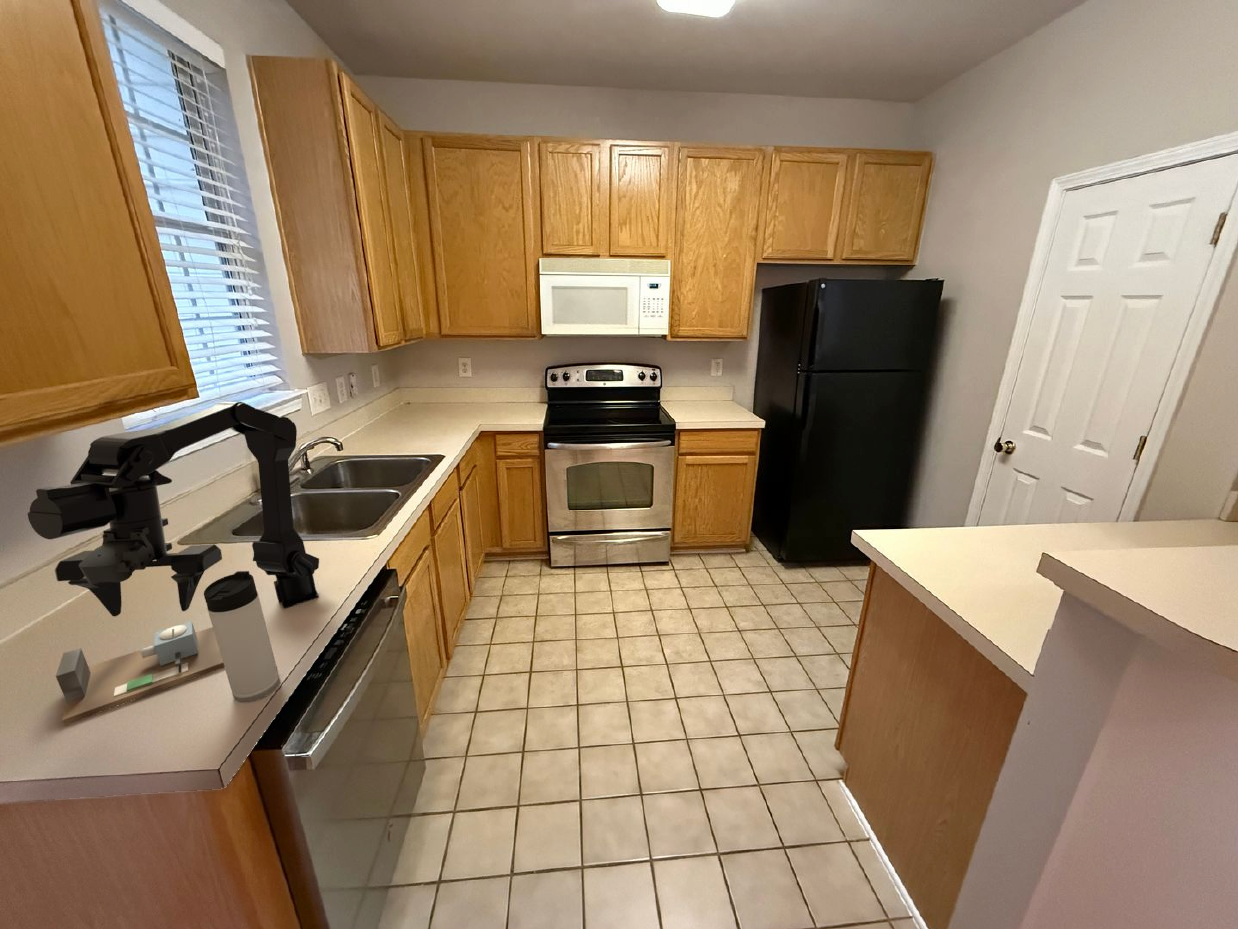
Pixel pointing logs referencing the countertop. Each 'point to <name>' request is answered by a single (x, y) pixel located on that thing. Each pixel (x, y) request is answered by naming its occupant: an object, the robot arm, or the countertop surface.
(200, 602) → the countertop surface
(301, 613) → the countertop surface
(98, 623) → the countertop surface
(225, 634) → the travel mug
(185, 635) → the force gauge
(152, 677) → the gauge board
